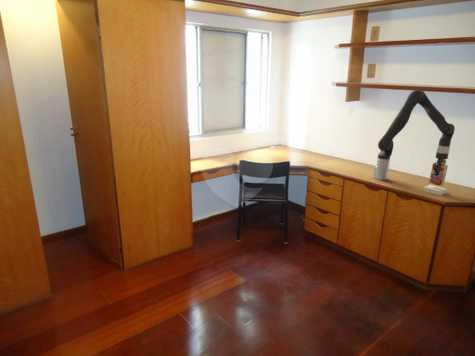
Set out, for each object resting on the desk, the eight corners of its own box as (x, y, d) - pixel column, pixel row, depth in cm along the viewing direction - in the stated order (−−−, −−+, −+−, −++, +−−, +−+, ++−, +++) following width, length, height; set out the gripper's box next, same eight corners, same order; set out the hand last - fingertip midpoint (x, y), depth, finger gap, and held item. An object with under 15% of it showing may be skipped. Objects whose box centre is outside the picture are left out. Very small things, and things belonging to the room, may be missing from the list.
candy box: (428, 183, 251) (432, 163, 247) (431, 182, 254) (435, 162, 249) (440, 186, 244) (445, 166, 240) (443, 185, 247) (448, 165, 242)
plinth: (422, 190, 252) (423, 186, 251) (429, 188, 258) (429, 184, 257) (440, 195, 243) (441, 191, 242) (445, 192, 249) (446, 188, 248)
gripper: (441, 149, 249) (436, 172, 254) (432, 152, 240) (428, 175, 246) (452, 151, 243) (447, 174, 248) (444, 154, 235) (439, 177, 240)
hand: (437, 174), depth 247 cm, fingers closed on candy box, 4 cm apart
